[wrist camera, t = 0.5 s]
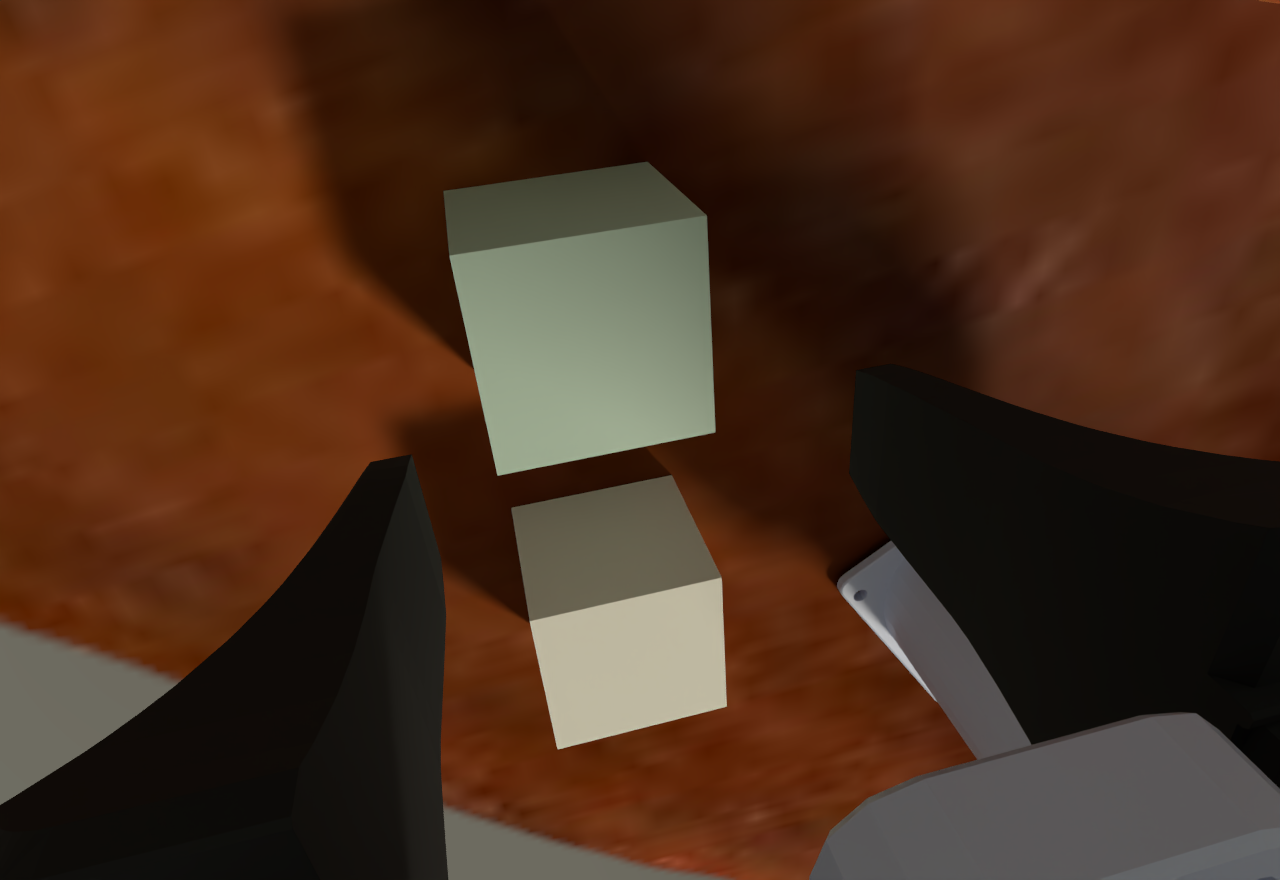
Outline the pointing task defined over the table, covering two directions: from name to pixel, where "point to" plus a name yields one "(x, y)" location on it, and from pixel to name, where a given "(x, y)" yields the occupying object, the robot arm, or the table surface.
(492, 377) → the sage green block
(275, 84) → the table surface
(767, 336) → the table surface
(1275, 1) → the paper cup
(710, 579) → the cream block
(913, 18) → the table surface
